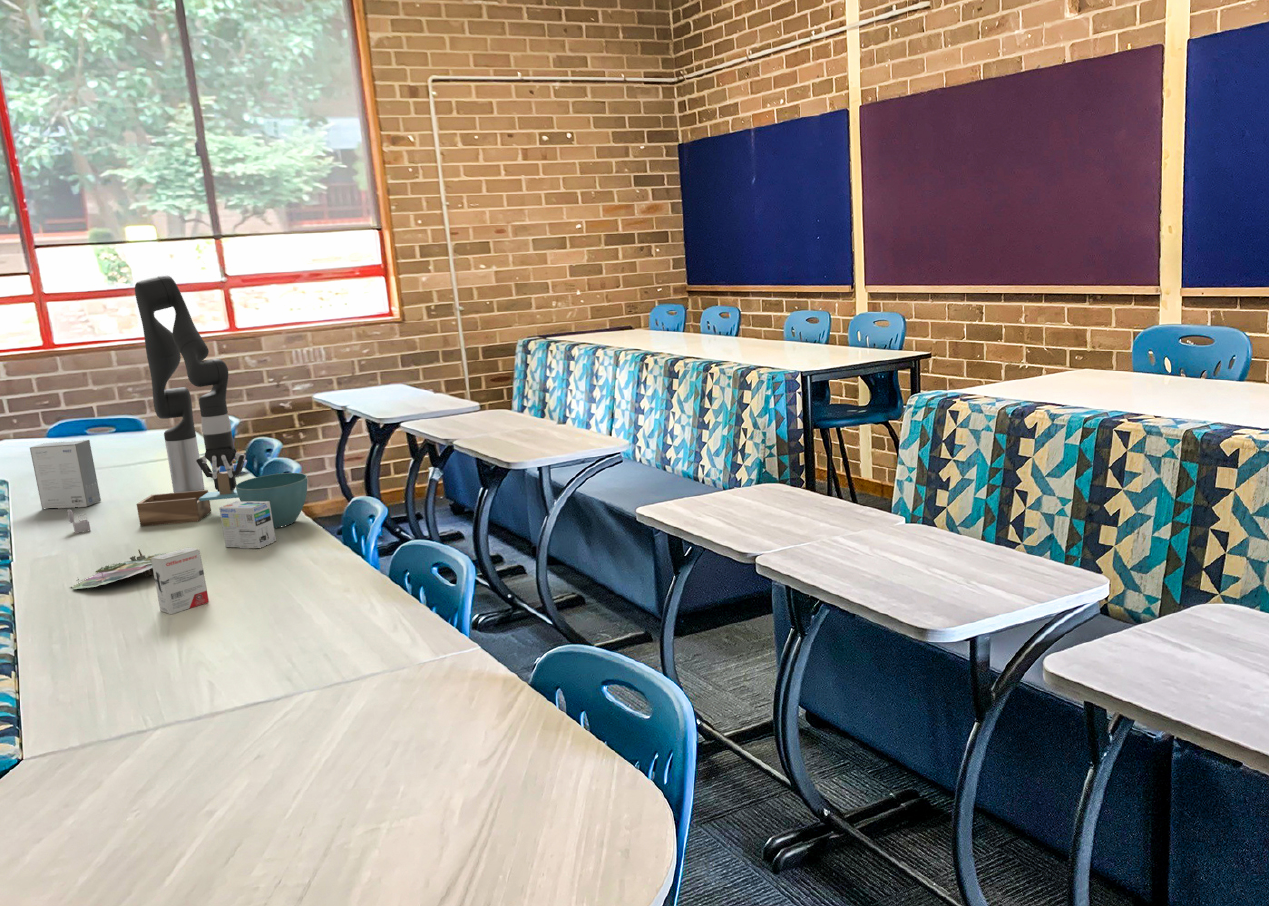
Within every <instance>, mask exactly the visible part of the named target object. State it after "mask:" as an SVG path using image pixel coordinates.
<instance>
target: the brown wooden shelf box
mask: <svg viewBox="0 0 1269 906" xmlns="http://www.w3.org/2000/svg"><path fill="white" fill-rule="evenodd" d="M208 492H209V490H208V489H204V490H200V491H189V492H178V493H174V492H169V493H168V492H167V493H157V494H150V495H149V496H147V497H146V498H144V499H143V500H140V501H139V502H138V503H136V509H137V514H138V520H139V525H140V527H141V528H142V527H149V526H159V525H160V526H161V525H173V524H182V523H194V522H200V521H201V520H202V519H204V518H205V517H207V516H208V515H209V514H210V513H211V512H212V507H211V500H207V501H199V498H200V497H202V496H203V495H205V494H206V493H208ZM210 511H211V512H210ZM208 513H209V514H208ZM207 514H208V515H207Z"/></svg>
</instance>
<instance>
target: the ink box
mask: <svg viewBox="0 0 1269 906" xmlns="http://www.w3.org/2000/svg"><path fill="white" fill-rule="evenodd" d="M165 553H166V554H163V555H159V556H156V557H152V558H151V561H152V567H153V572H154V575H153V578H154V583H155V590H156V593H157V600H158V605H159V610H160V611H161V612H163V613H167V614H169V615H174V614H177V613H180V612H182V611H183V612H184V611H185V610H186V611H187V610H189V609H192V608H195V607H196V608H197V607H198V606H201V605H204V604H207V603H209V602H210V600H209V595H208V594H209V593H208V588H207V583H206V578H205V572H204V568H203V560H202V555H201V550H200V549H199V548H194V547H185V548H181V549H177V550H175V551H171V552H165Z"/></svg>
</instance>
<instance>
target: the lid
mask: <svg viewBox="0 0 1269 906" xmlns="http://www.w3.org/2000/svg"><path fill="white" fill-rule="evenodd" d="M217 479H218V486H219V492H218V490H216V491H208V493H206V494H205V495H203V496H202V497H200V498H199V501H207V500H210V501H215V500H216V501H217V500H218V501H219V500H227V499H238V498H239V496H238V493H237V490H236V489H234V490H230V484H229V476H228V473H227V471H226V472H219V473H218V474H217Z"/></svg>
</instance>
